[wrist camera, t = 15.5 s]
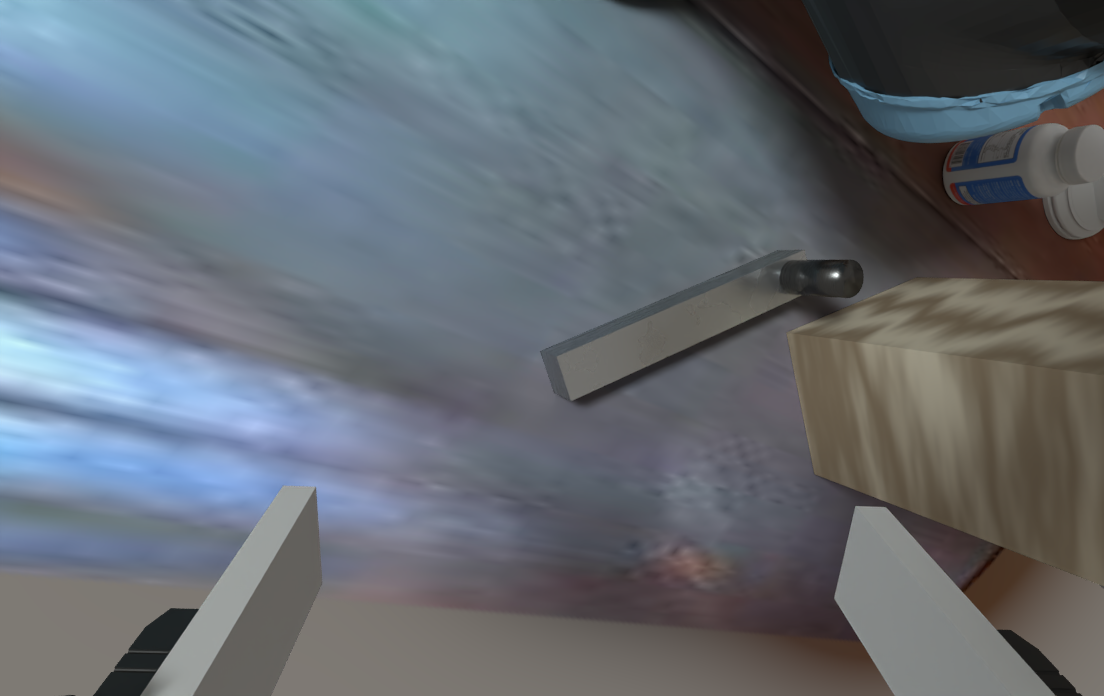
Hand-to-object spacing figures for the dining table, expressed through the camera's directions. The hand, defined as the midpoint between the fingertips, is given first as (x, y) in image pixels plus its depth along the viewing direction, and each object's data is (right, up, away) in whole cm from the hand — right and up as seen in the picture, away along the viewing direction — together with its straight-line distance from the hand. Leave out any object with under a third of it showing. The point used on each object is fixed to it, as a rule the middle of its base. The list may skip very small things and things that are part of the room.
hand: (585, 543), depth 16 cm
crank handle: (+7, +7, +31) cm, 32 cm away
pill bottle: (+33, +19, +40) cm, 56 cm away
